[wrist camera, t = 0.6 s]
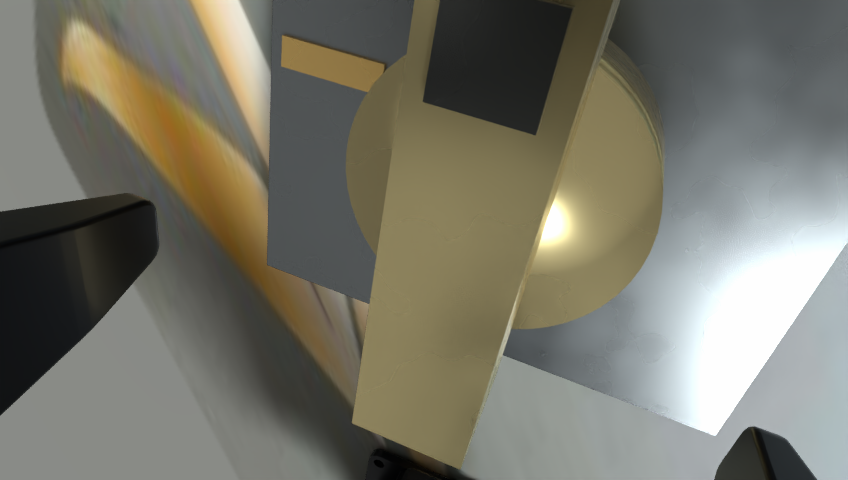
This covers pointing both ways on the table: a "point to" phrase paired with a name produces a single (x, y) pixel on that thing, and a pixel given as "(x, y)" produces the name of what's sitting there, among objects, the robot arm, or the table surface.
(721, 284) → the lock base
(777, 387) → the table surface
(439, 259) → the brass lock knob
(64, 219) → the robot arm
